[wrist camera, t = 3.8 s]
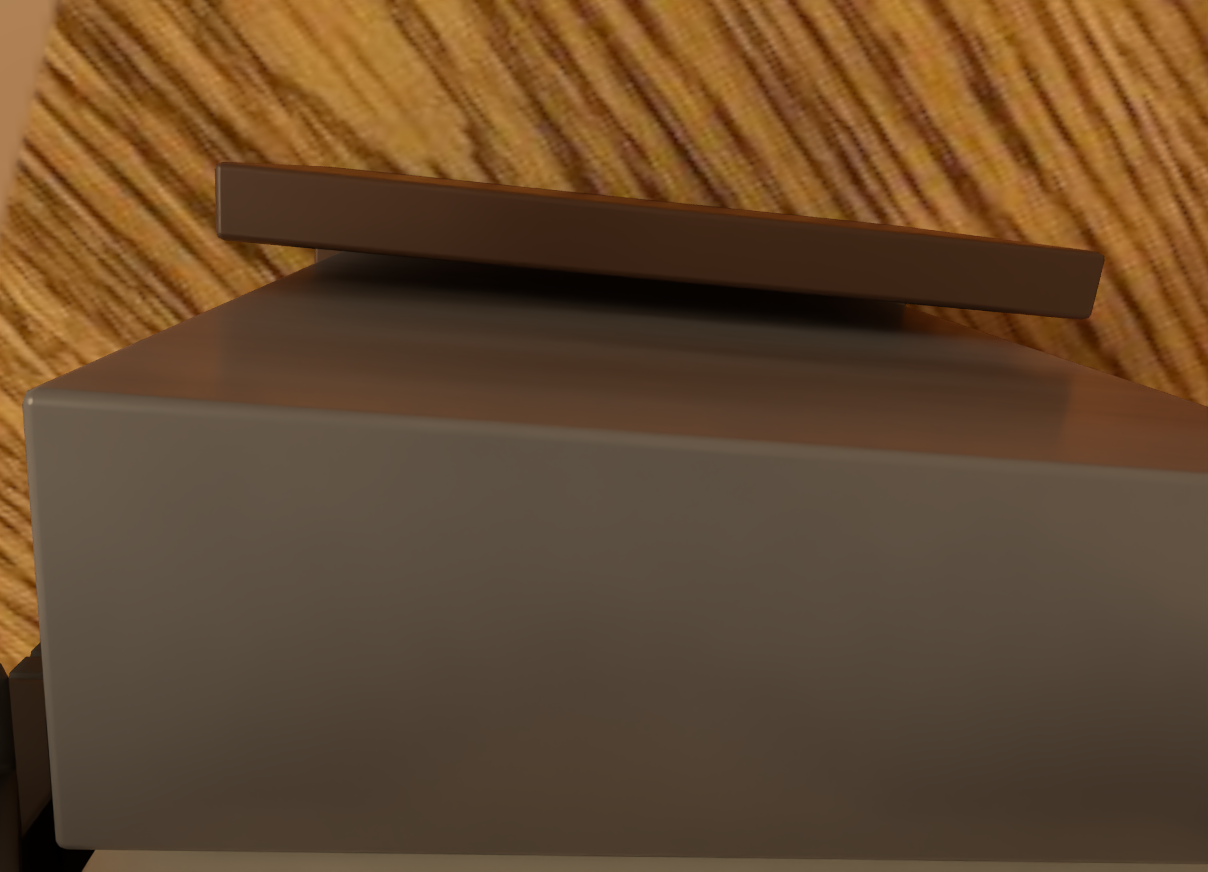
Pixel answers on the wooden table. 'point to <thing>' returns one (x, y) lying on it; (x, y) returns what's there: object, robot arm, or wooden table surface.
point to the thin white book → (557, 863)
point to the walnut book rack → (619, 546)
